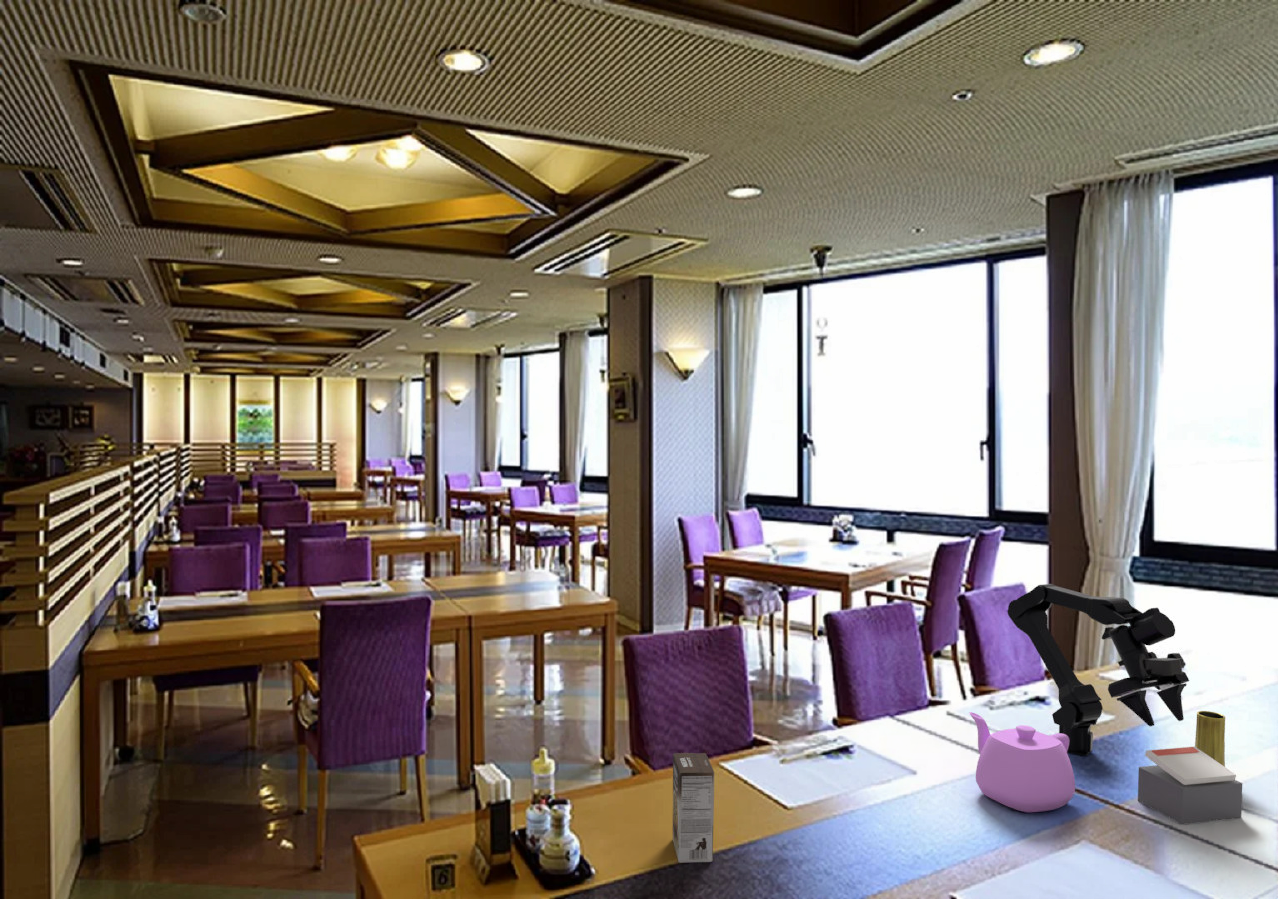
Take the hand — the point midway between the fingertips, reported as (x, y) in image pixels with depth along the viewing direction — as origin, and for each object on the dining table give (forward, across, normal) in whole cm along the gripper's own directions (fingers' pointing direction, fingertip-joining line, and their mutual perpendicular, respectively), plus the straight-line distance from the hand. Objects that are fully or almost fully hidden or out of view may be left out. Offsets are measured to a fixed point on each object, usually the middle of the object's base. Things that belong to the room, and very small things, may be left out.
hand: (1166, 723), depth 186 cm
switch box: (+17, -6, 0) cm, 18 cm away
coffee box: (+5, -107, +19) cm, 109 cm away
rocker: (+9, -6, -5) cm, 12 cm away
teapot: (+8, -34, +14) cm, 37 cm away
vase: (+12, +13, +7) cm, 19 cm away
